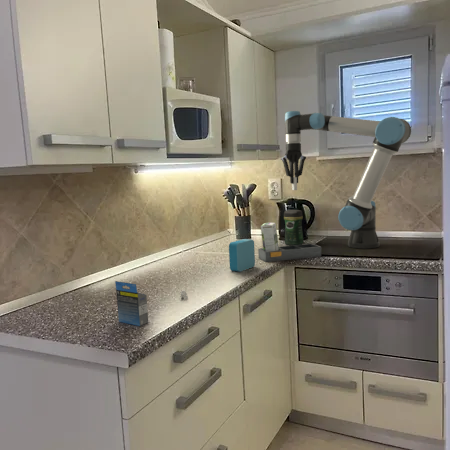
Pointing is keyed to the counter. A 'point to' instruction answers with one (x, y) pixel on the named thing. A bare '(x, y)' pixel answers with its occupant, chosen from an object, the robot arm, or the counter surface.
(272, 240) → the syrup box
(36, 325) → the counter surface
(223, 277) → the counter surface
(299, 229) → the coffee jar
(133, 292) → the label tape cartridge
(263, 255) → the rack
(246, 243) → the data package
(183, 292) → the adhesive hook
